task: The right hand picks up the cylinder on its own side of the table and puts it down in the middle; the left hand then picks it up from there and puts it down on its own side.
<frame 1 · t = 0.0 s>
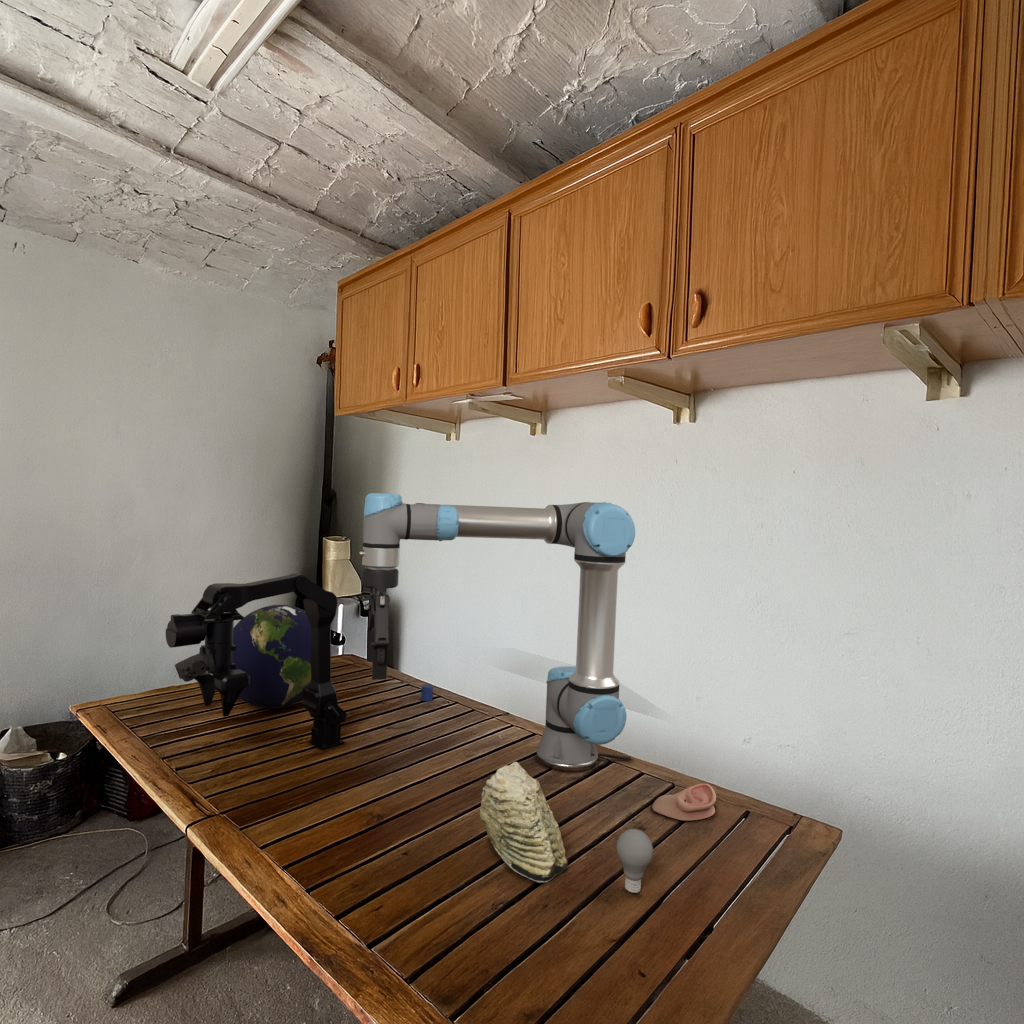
left hand: (216, 710, 141), 15 cm above the table, tool pointing down, fingers open, 9 cm apart
right hand: (376, 669, 131), 28 cm above the table, tool pointing down, fingers open, 13 cm apart
cylinder: (426, 699, 201), on the table
anatomical model: (683, 809, 135), on the table
globe: (275, 706, 188), on the table
fossil: (519, 856, 115), on the table
light bulb: (632, 891, 106), on the table
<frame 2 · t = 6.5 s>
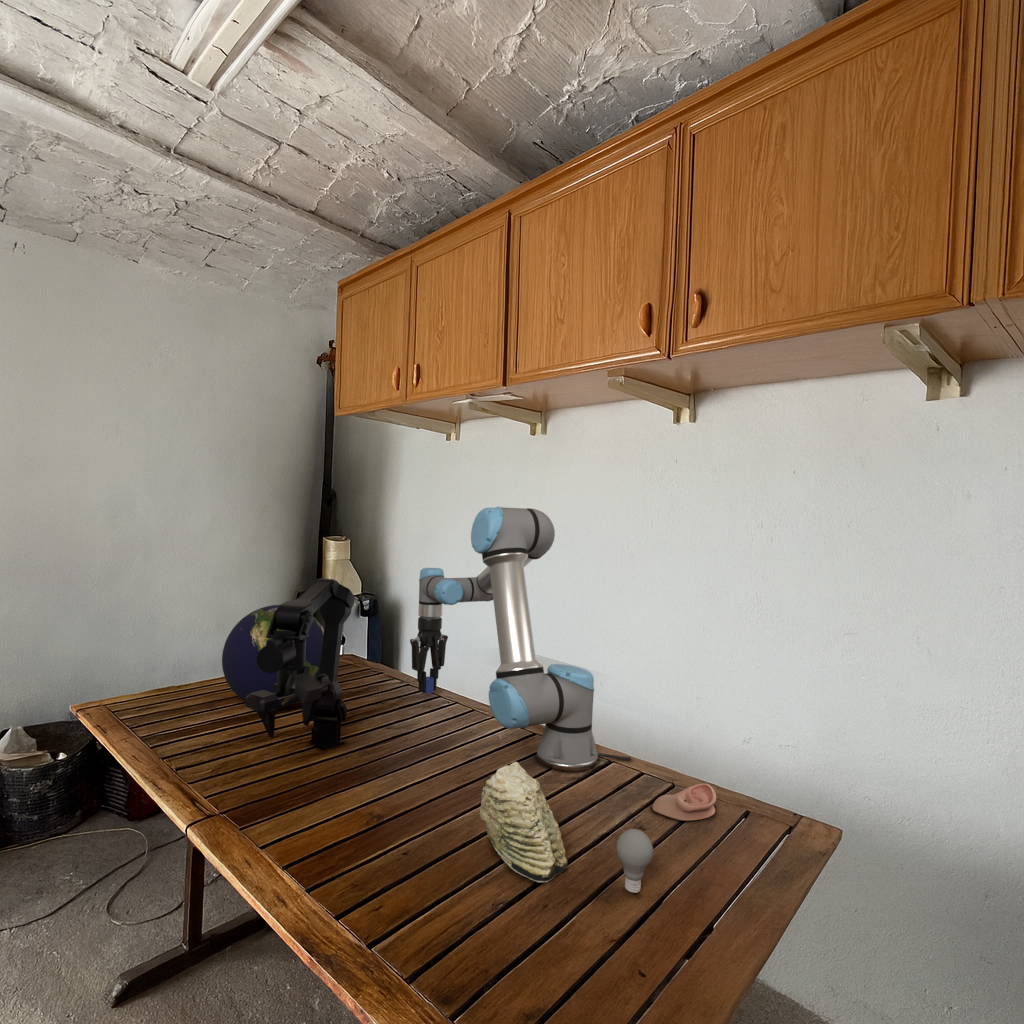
left hand: (289, 731, 140), 11 cm above the table, tool pointing down, fingers open, 9 cm apart
right hand: (427, 690, 201), 3 cm above the table, tool pointing down, fingers closed on cylinder, 3 cm apart
cylinder: (427, 691, 200), point 3 cm above the table, touching right hand
everything else where it was.
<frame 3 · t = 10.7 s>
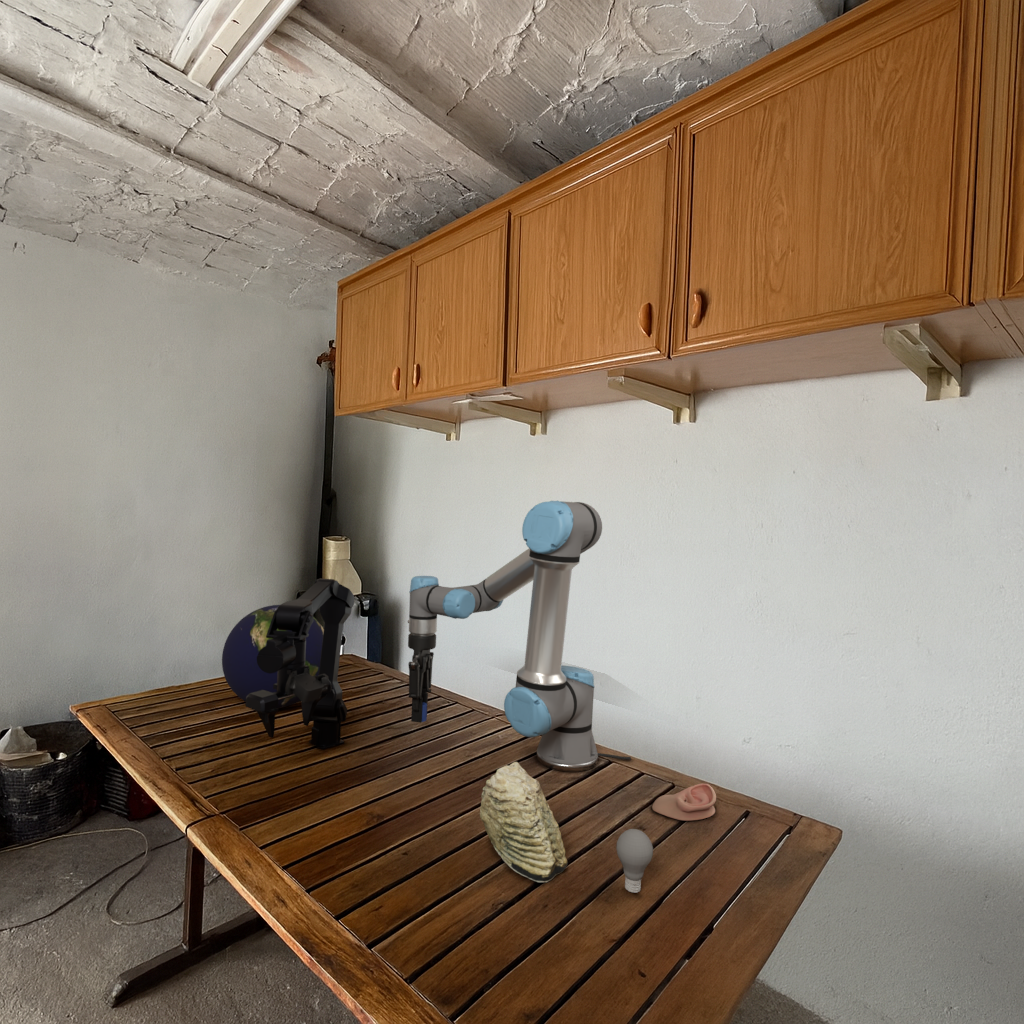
left hand: (289, 731, 140), 11 cm above the table, tool pointing down, fingers open, 9 cm apart
right hand: (419, 718, 172), 4 cm above the table, tool pointing down, fingers closed on cylinder, 3 cm apart
cylinder: (420, 720, 172), point 4 cm above the table, touching right hand
everything else where it was.
when the right hand's fingers open (1 cm above the table, at t = 15.0 s): cylinder stays where it is, on the table.
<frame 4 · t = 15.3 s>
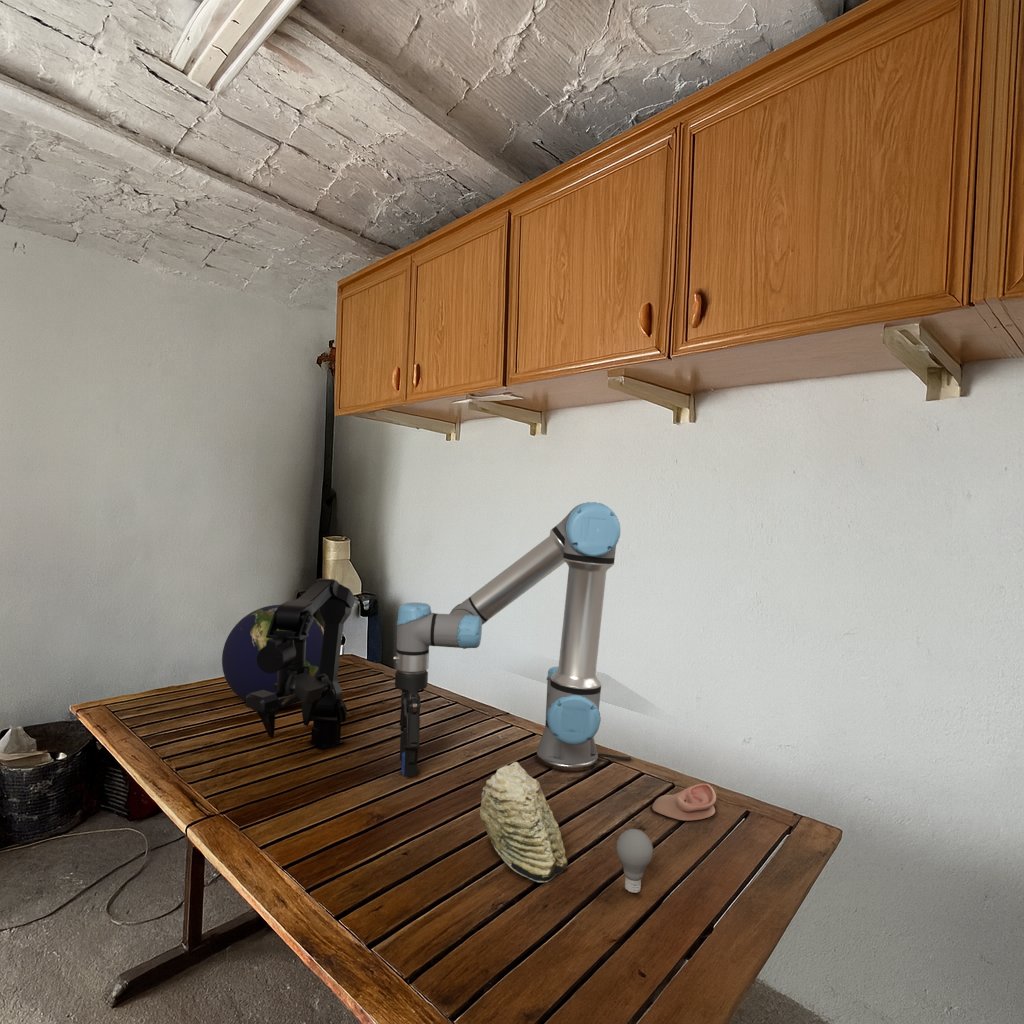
left hand: (289, 731, 140), 11 cm above the table, tool pointing down, fingers open, 9 cm apart
right hand: (407, 767, 147), 1 cm above the table, tool pointing down, fingers open, 8 cm apart
cylinder: (408, 772, 147), on the table
everything else where it was.
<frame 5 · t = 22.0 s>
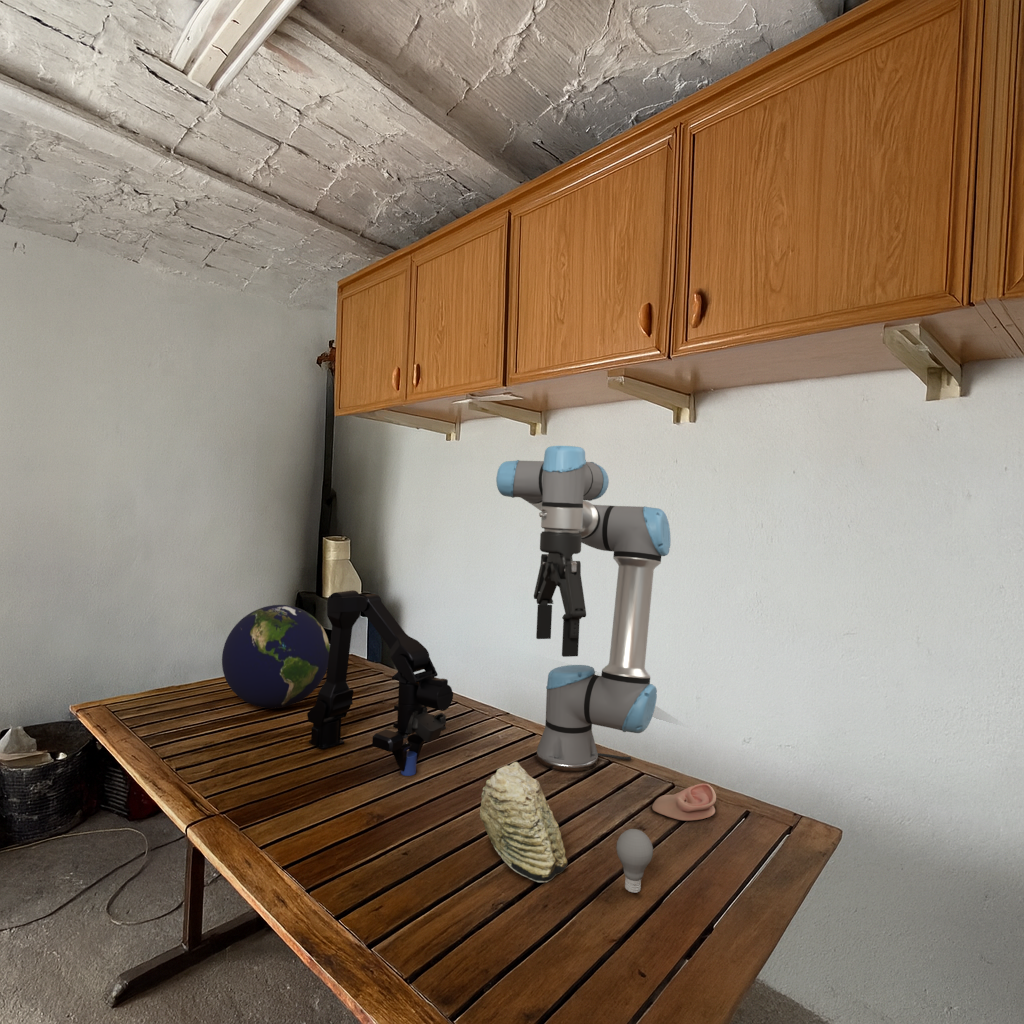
left hand: (407, 767, 147), 1 cm above the table, tool pointing down, fingers closed on cylinder, 3 cm apart
right hand: (555, 647, 116), 38 cm above the table, tool pointing down, fingers open, 13 cm apart
cylinder: (408, 772, 147), on the table, touching left hand
everything else where it was.
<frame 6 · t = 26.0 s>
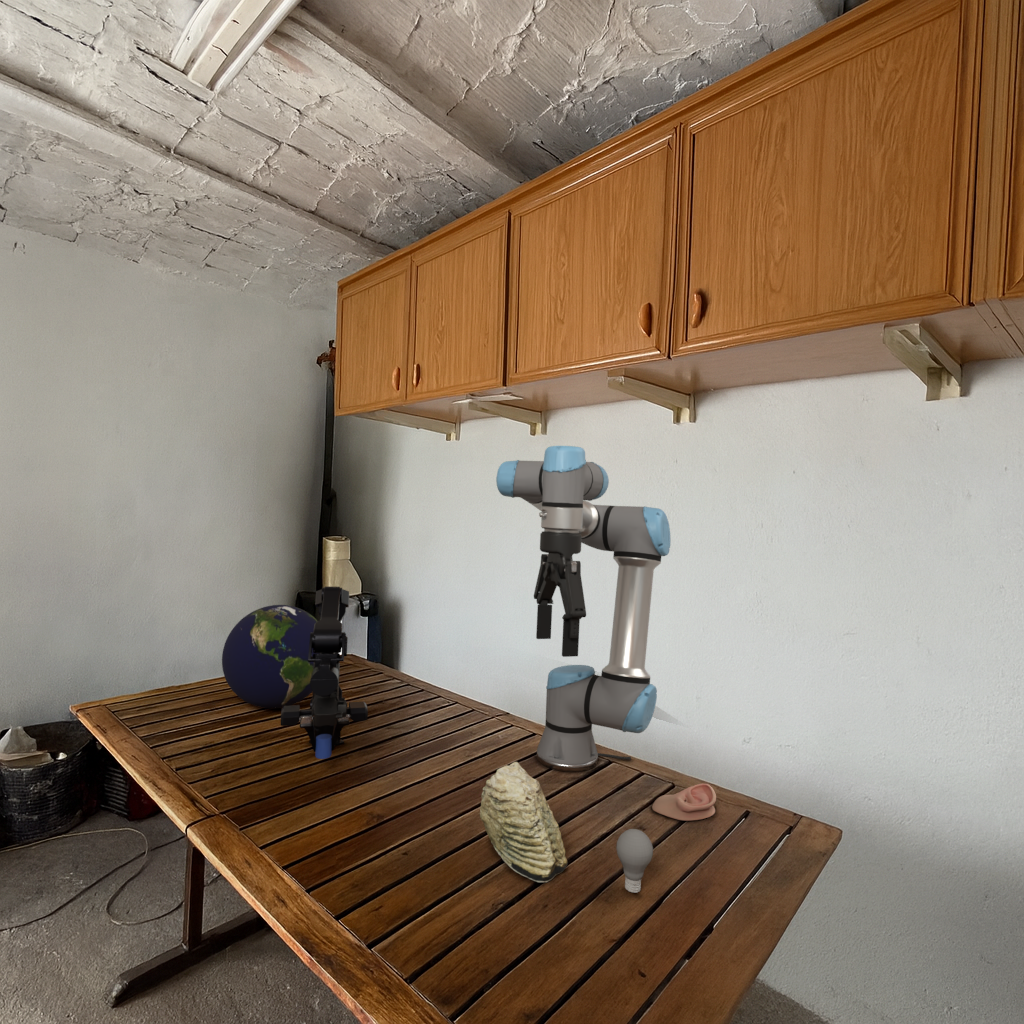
left hand: (323, 750, 144), 6 cm above the table, tool pointing down, fingers closed on cylinder, 3 cm apart
right hand: (555, 647, 116), 38 cm above the table, tool pointing down, fingers open, 13 cm apart
cylinder: (323, 755, 144), point 5 cm above the table, touching left hand
everything else where it was.
when the left hand's fingers open (2 cm above the table, at t = 30.3 s): cylinder drops 1 cm, on the table.
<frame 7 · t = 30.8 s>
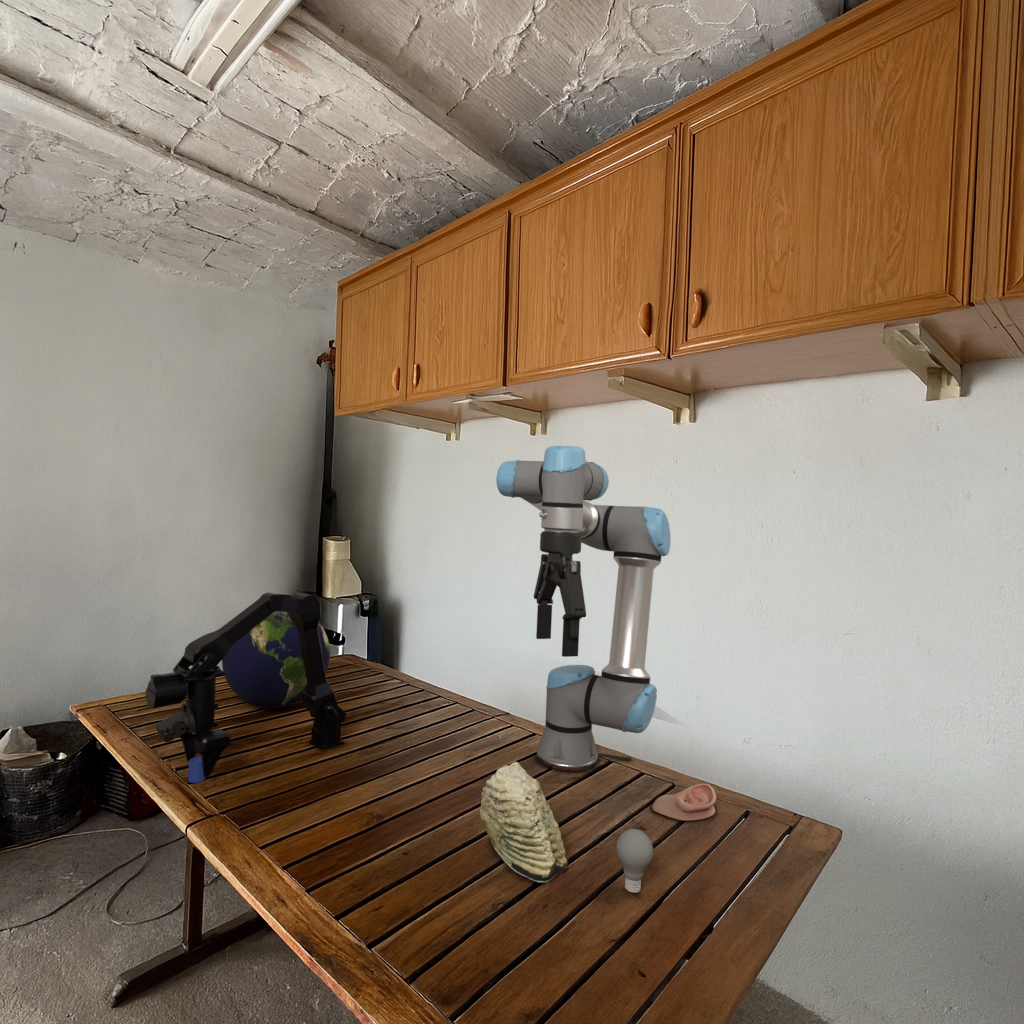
left hand: (198, 769, 139), 2 cm above the table, tool pointing down, fingers open, 9 cm apart
right hand: (555, 647, 116), 38 cm above the table, tool pointing down, fingers open, 13 cm apart
cylinder: (196, 779, 139), on the table
everything else where it was.
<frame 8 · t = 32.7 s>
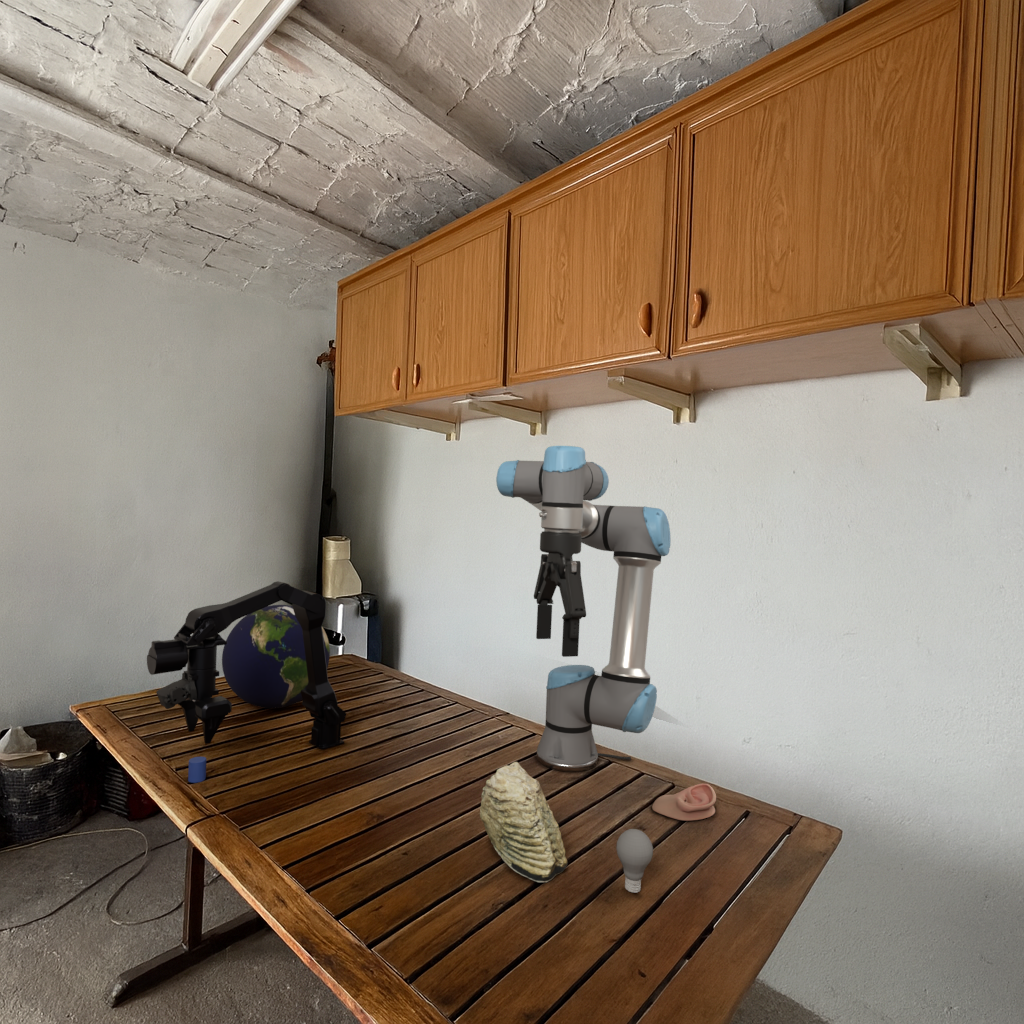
left hand: (199, 737, 139), 9 cm above the table, tool pointing down, fingers open, 9 cm apart
right hand: (555, 647, 116), 38 cm above the table, tool pointing down, fingers open, 13 cm apart
nothing on the table moved.
at the end: cylinder inside the target area (0.2 cm from its centre), on the table; cylinder tilted 0°; the two hands never held the cylinder at the same time; the left hand is holding nothing; the right hand is holding nothing; cylinder at rest at the end (0.0 cm/s) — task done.
